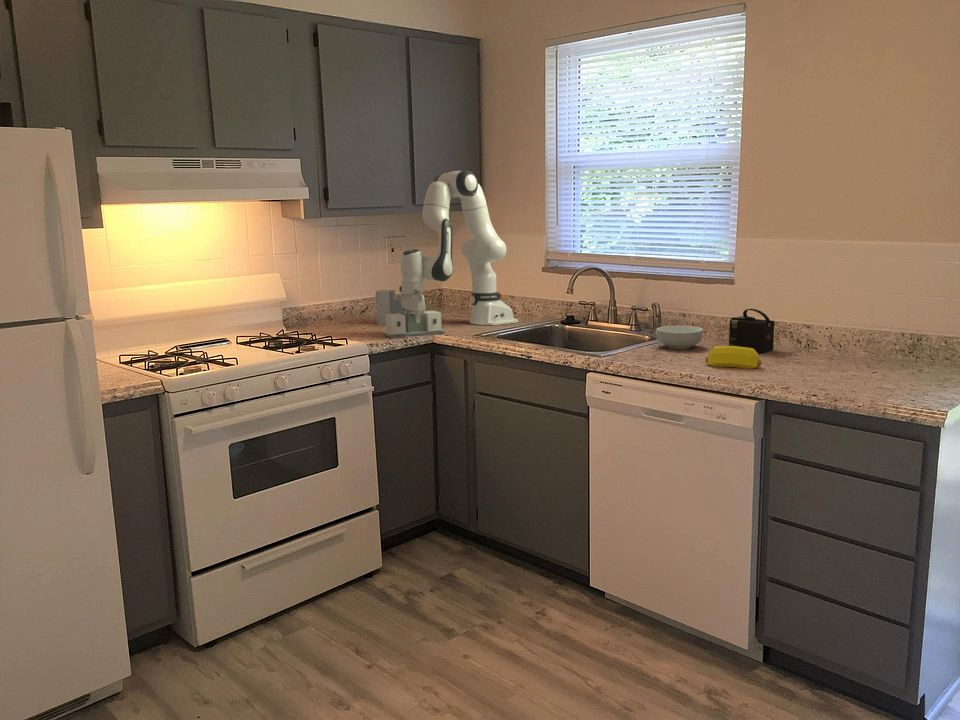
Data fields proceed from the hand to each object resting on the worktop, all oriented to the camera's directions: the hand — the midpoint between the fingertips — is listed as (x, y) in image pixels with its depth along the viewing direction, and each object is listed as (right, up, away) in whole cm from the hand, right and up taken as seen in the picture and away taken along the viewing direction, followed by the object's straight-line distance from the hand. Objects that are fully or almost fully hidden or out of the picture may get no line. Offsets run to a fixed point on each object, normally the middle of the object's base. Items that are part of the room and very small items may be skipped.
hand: (413, 321), depth 347 cm
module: (0, -4, +1) cm, 4 cm away
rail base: (0, -5, +1) cm, 6 cm away
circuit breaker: (-13, +1, +35) cm, 38 cm away
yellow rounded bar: (+111, -19, -76) cm, 136 cm away
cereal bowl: (+102, -12, -40) cm, 111 cm away
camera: (+127, -13, -48) cm, 136 cm away
